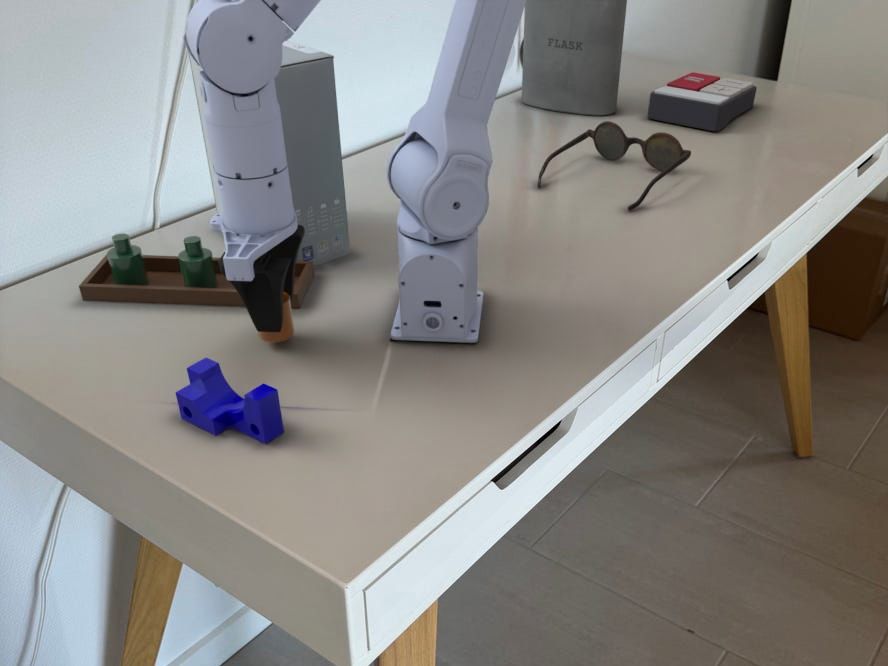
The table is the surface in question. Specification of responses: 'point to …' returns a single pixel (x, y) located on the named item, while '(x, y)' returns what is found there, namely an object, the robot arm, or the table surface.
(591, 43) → the flask
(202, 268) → the green bottle
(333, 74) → the hard drive box
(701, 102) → the calculator
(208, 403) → the cable holder
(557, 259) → the table surface
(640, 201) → the eyeglasses
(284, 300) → the amber bottle
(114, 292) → the tray
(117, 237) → the green bottle
